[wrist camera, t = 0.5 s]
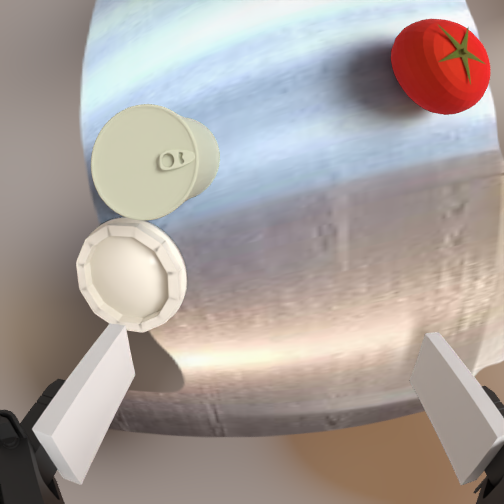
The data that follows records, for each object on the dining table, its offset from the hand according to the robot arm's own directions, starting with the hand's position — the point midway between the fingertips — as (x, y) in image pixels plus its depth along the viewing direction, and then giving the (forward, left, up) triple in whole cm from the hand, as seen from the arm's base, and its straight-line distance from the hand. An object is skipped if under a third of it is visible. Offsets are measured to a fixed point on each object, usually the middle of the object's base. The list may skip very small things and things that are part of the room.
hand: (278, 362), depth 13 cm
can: (-7, -10, -24) cm, 27 cm away
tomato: (-20, +17, -24) cm, 36 cm away
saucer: (+7, -16, -24) cm, 30 cm away
